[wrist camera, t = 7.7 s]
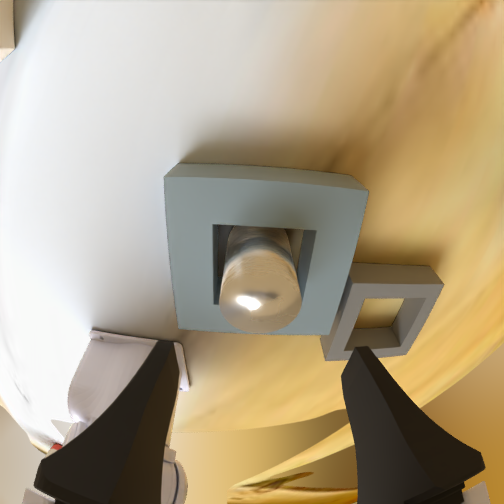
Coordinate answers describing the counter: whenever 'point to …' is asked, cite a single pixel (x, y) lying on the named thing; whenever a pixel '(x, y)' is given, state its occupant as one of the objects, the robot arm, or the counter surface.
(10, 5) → the milk carton
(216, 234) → the socket block
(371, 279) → the pin mount
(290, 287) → the steel pin
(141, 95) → the counter surface
